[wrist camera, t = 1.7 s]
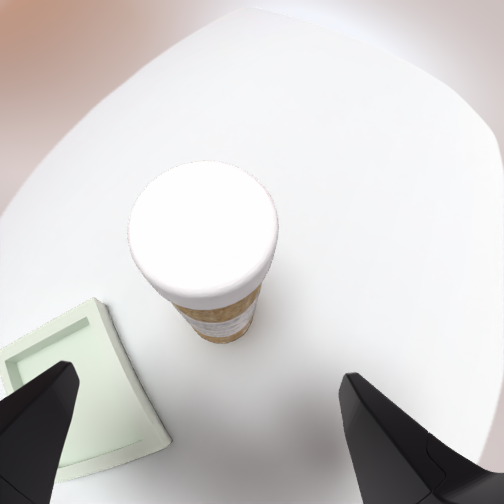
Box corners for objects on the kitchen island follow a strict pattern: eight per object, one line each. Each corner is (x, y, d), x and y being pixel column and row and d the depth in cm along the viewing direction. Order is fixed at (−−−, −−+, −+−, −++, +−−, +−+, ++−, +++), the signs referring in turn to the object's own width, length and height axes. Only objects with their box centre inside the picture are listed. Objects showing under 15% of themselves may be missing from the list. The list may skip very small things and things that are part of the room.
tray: (172, 440, 17) (165, 448, 15) (61, 478, 14) (47, 484, 12) (105, 304, 20) (93, 297, 18) (10, 356, 18) (-6, 353, 16)
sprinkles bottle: (208, 271, 22) (178, 138, 10) (264, 299, 21) (305, 189, 9) (177, 325, 20) (94, 248, 8) (235, 356, 20) (234, 327, 7)
